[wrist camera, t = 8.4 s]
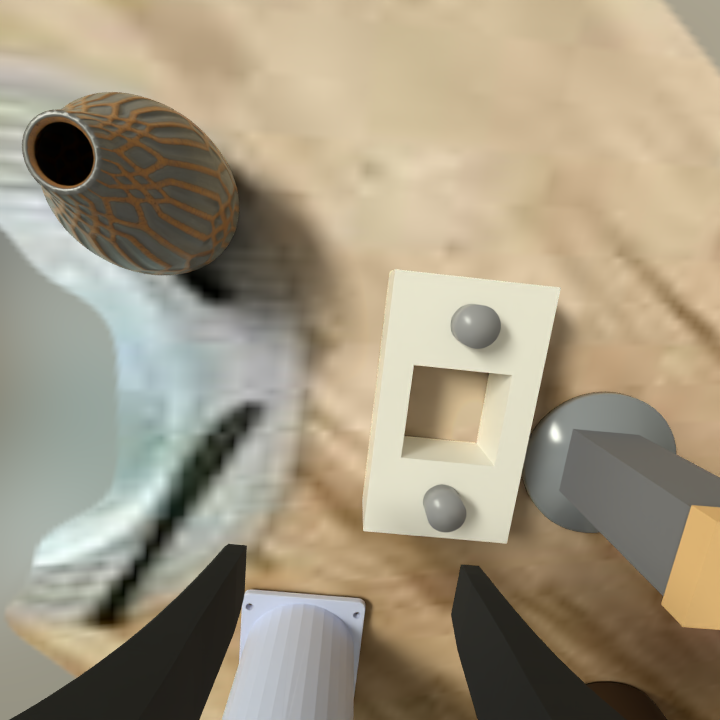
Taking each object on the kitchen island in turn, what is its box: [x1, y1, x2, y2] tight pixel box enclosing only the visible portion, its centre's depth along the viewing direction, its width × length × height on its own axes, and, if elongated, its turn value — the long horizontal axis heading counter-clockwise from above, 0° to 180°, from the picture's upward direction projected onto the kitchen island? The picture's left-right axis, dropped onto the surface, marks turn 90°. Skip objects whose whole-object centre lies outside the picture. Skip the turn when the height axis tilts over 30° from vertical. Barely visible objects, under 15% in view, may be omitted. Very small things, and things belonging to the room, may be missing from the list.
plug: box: [559, 429, 720, 630], centre depth 18 cm, size 4×4×9 cm
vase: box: [22, 92, 239, 275], centre depth 15 cm, size 7×7×9 cm
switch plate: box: [362, 269, 561, 544], centre depth 20 cm, size 14×8×4 cm, turn 174°
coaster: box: [522, 392, 676, 533], centre depth 23 cm, size 9×9×1 cm
